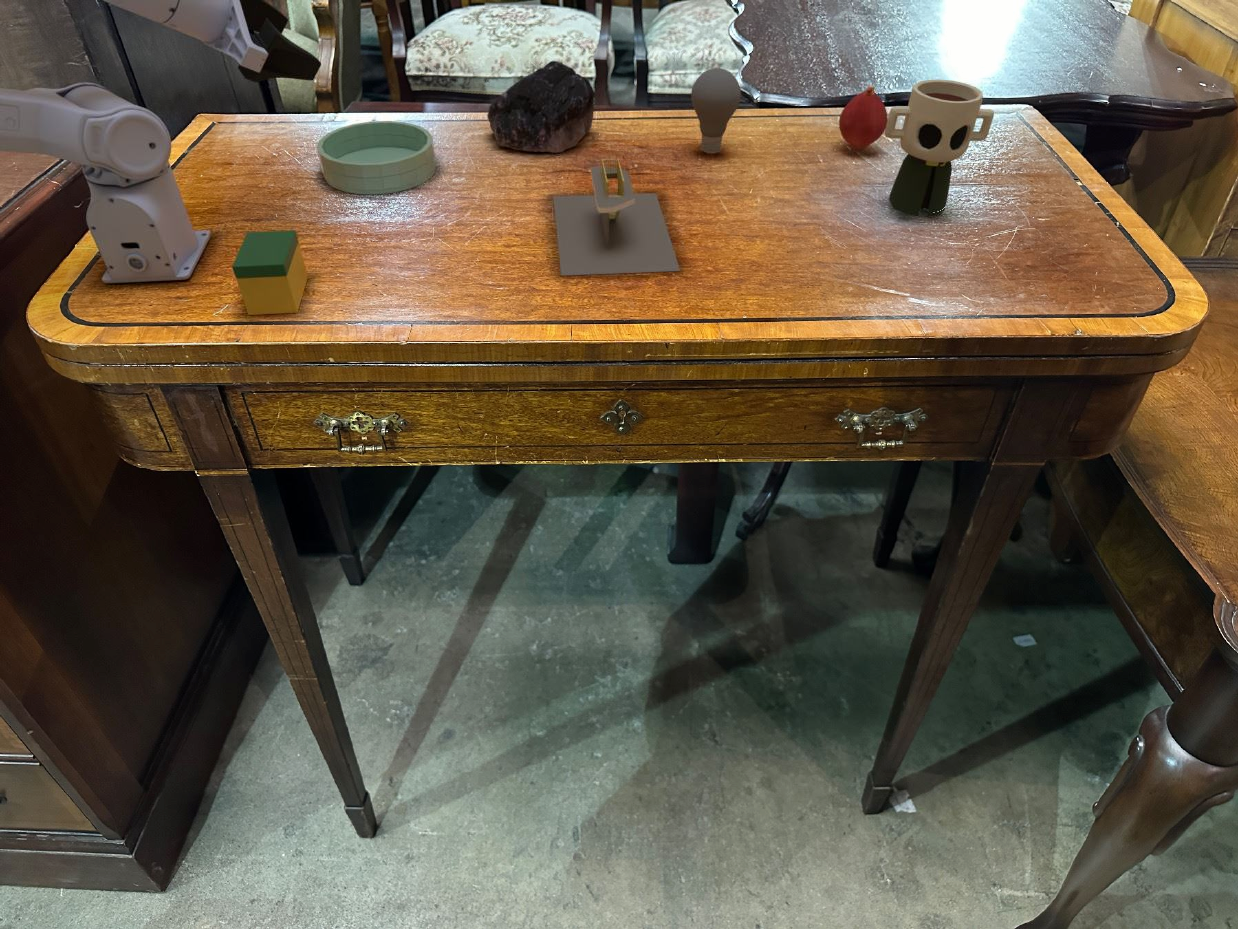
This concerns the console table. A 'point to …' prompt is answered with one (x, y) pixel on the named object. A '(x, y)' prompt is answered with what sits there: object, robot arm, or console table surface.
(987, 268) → the console table surface
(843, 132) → the onion
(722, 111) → the light bulb
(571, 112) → the dark rough boulder
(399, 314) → the console table surface
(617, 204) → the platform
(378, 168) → the bowl
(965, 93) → the character mug
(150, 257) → the robot arm
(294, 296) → the sponge
